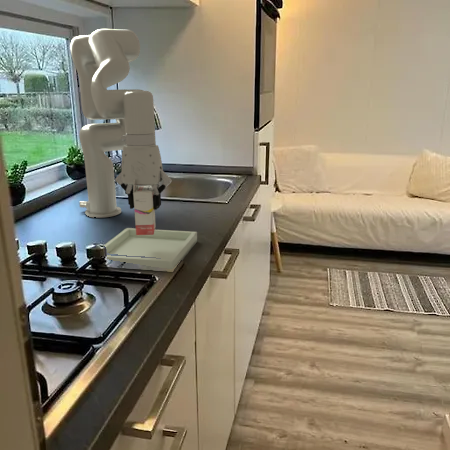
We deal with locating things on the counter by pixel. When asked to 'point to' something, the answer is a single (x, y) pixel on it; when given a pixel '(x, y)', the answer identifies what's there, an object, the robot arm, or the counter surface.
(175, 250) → the sage tray
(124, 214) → the counter surface
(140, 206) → the ink cartridge box
